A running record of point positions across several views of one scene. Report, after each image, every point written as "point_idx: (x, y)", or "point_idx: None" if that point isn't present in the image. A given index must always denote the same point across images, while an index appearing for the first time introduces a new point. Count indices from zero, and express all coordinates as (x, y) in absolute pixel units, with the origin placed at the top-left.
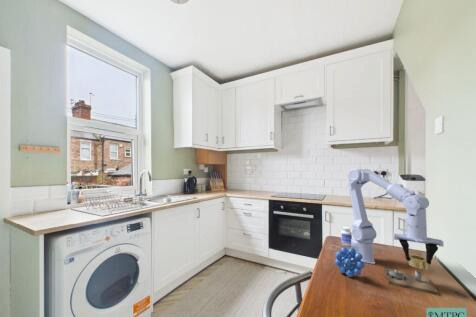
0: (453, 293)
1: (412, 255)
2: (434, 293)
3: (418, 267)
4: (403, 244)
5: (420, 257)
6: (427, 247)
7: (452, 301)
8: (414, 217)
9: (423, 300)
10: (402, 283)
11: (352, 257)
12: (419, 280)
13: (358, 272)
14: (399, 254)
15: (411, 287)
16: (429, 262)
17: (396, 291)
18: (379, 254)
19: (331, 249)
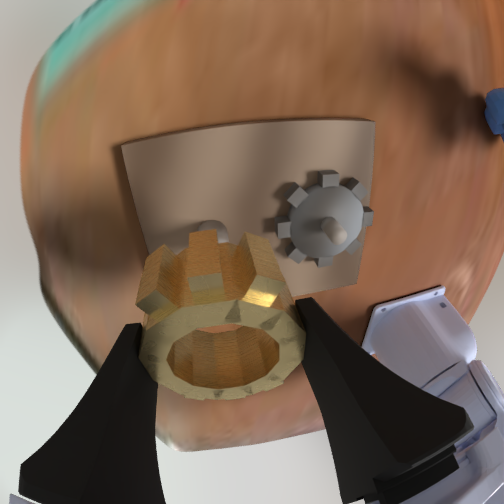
0: (71, 225)
1: (262, 378)
2: (142, 138)
3: (219, 246)
4: (453, 419)
5: (199, 382)
6: (136, 489)
7: (74, 121)
8: None
9: (213, 15)
10: (308, 129)
11: None
12: (207, 224)
13: (500, 88)
14: (255, 420)
15: (259, 121)
16: (127, 335)
17: (341, 43)
18: None
19: (464, 318)
